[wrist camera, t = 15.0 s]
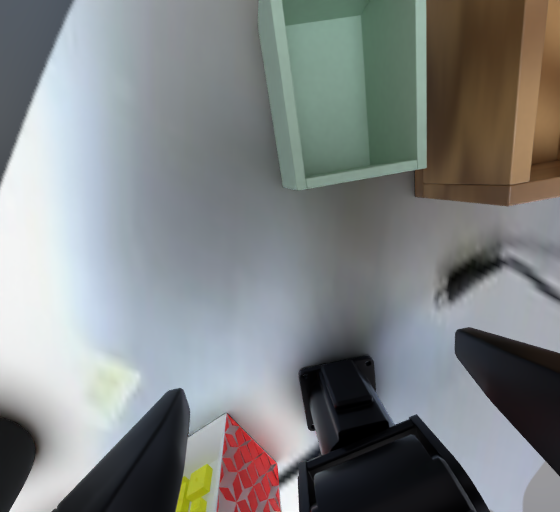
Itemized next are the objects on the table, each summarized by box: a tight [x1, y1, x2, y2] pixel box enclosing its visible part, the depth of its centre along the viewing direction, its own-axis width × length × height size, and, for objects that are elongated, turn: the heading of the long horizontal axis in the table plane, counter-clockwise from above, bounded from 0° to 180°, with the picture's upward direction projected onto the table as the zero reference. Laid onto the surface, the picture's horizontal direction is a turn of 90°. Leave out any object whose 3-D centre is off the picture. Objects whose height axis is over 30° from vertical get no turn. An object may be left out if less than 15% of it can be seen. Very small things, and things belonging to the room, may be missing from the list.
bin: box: [258, 0, 427, 191], centre depth 14 cm, size 10×7×6 cm
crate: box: [415, 0, 560, 206], centre depth 14 cm, size 14×11×8 cm
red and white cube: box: [176, 413, 282, 512], centre depth 21 cm, size 8×8×8 cm
